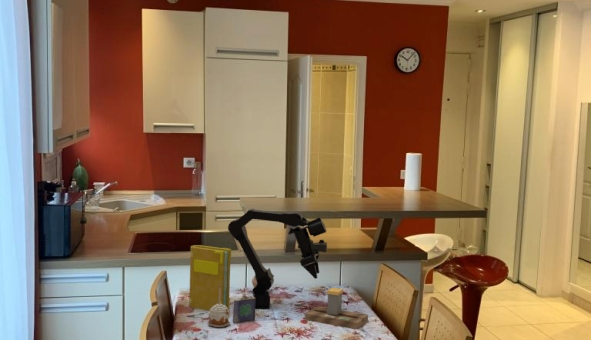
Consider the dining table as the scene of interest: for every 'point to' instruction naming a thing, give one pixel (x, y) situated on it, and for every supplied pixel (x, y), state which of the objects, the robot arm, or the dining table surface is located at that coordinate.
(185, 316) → the dining table surface
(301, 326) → the dining table surface
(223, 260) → the book
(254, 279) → the decorative fruit
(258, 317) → the dining table surface
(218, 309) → the candy apple
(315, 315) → the wooden slotted board
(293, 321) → the dining table surface
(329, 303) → the switch handle
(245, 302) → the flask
